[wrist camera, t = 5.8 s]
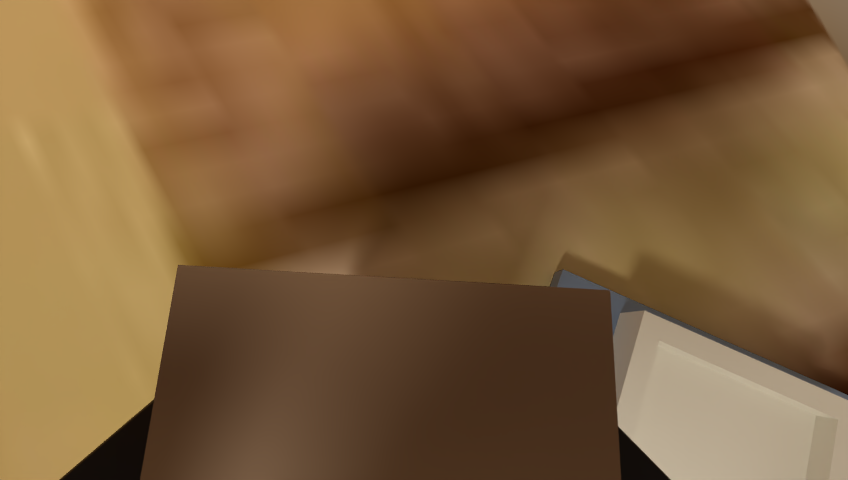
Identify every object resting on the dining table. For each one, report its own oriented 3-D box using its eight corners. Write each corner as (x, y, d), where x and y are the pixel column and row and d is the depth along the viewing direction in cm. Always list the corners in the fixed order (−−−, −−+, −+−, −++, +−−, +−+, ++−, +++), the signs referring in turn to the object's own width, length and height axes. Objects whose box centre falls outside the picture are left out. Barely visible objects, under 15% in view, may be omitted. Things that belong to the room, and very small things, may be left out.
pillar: (453, 483, 14) (640, 819, 4) (292, 481, 13) (73, 856, 4) (457, 323, 15) (609, 290, 5) (309, 316, 14) (177, 265, 5)
